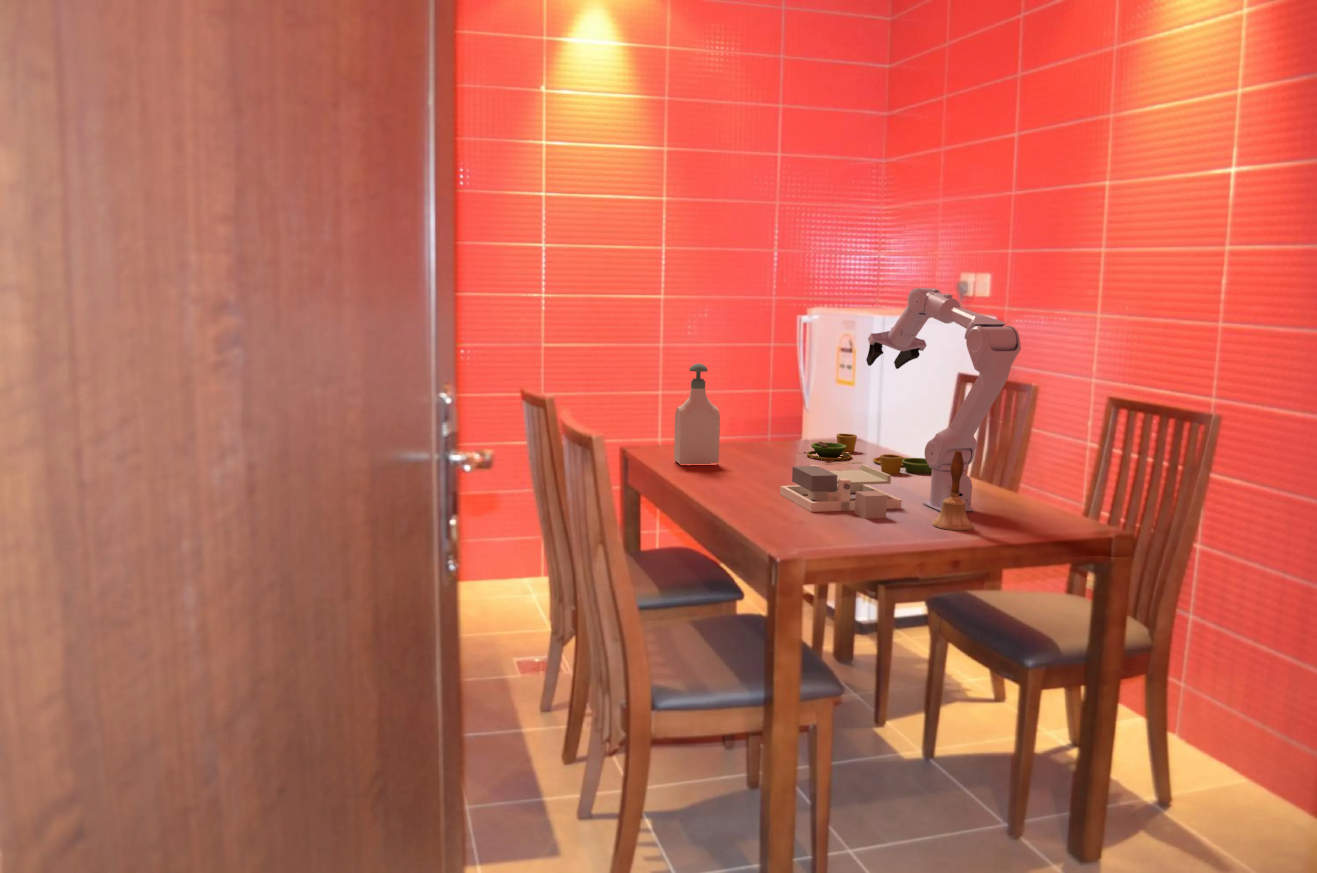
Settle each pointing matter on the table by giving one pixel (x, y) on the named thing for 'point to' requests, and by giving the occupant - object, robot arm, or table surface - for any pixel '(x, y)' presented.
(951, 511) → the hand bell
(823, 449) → the tableware set
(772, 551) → the table surface
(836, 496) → the frame
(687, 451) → the soap bottle
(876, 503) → the beige cube
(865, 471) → the trapdoor
